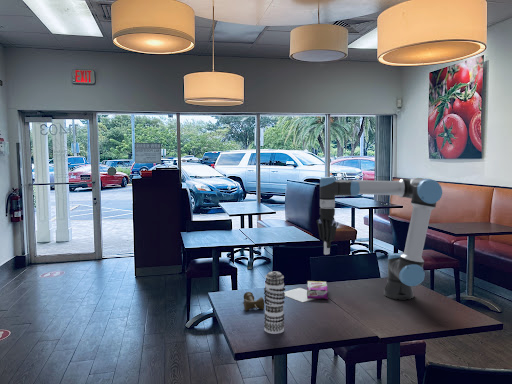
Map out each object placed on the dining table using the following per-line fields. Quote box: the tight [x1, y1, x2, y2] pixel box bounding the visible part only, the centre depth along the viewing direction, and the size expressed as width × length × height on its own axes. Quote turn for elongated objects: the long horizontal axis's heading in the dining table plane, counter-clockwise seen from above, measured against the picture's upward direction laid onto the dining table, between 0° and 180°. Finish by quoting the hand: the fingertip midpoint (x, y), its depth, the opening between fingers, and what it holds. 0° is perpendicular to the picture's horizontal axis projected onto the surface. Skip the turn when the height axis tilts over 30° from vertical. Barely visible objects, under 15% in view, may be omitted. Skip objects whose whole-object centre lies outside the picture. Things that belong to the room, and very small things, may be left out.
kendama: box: [243, 291, 265, 312], centre depth 205 cm, size 6×10×20 cm
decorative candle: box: [263, 271, 286, 335], centre depth 177 cm, size 9×9×25 cm
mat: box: [283, 287, 314, 303], centre depth 224 cm, size 18×16×1 cm
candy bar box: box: [306, 280, 329, 300], centre depth 224 cm, size 11×5×16 cm
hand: (326, 254), depth 208 cm, fingers closed
